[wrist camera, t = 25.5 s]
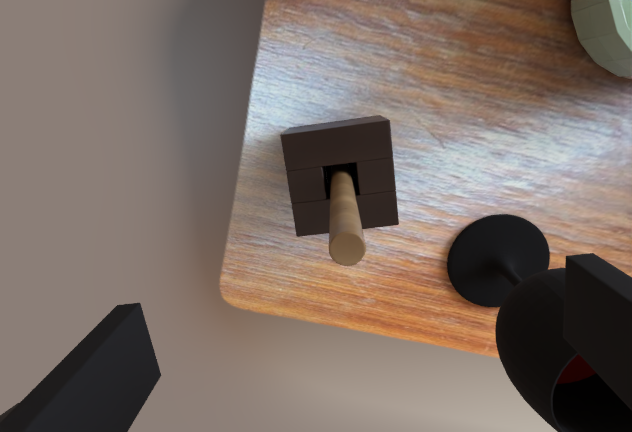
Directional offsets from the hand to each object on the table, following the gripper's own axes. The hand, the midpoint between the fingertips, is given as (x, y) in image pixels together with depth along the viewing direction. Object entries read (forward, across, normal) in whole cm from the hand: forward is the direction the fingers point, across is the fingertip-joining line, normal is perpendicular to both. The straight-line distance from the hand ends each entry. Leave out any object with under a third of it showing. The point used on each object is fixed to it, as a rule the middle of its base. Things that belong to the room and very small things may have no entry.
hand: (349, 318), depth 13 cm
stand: (+29, 0, 0) cm, 29 cm away
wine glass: (+29, +15, -12) cm, 35 cm away
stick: (+29, 0, -1) cm, 29 cm away
